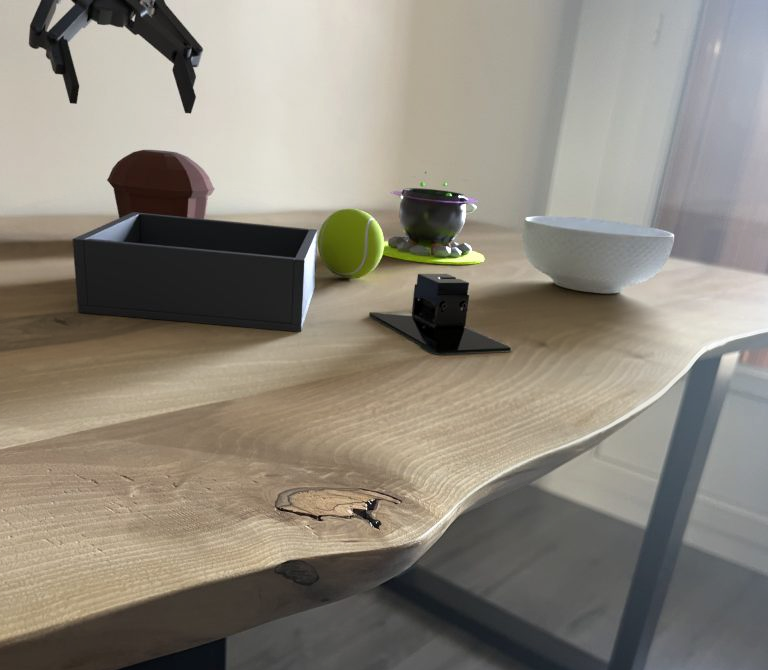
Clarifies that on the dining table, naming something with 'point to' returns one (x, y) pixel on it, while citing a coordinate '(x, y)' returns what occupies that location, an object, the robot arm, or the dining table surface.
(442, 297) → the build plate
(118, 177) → the muffin
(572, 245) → the cereal bowl
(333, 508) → the dining table surface
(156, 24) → the robot arm
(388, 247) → the toy cauldron
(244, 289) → the bin
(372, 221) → the tennis ball
